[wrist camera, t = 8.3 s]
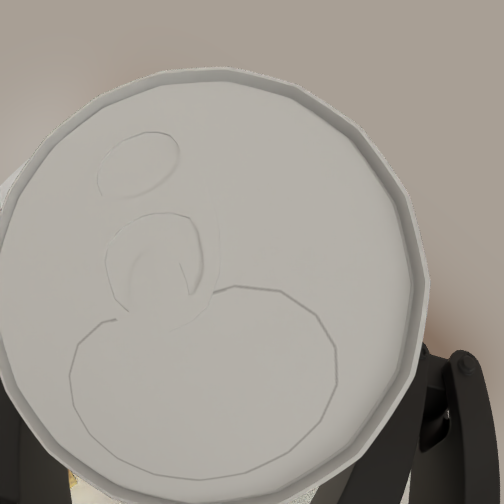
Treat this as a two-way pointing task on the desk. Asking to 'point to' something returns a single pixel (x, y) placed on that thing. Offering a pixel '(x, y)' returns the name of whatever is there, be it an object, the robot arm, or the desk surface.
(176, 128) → the supplement can
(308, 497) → the desk surface
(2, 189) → the desk surface
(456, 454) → the robot arm
